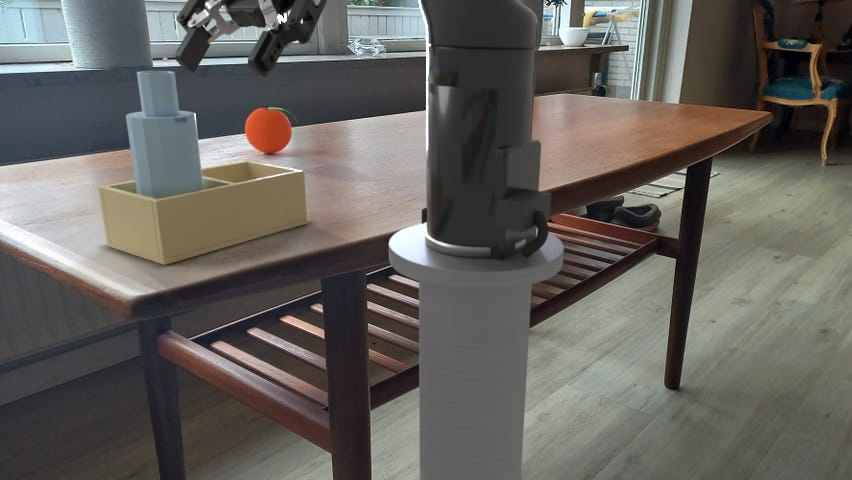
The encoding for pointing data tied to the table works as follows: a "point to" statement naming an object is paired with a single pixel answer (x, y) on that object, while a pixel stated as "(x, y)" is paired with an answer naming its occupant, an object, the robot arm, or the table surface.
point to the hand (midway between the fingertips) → (219, 68)
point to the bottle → (163, 140)
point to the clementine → (268, 130)
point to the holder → (205, 212)
